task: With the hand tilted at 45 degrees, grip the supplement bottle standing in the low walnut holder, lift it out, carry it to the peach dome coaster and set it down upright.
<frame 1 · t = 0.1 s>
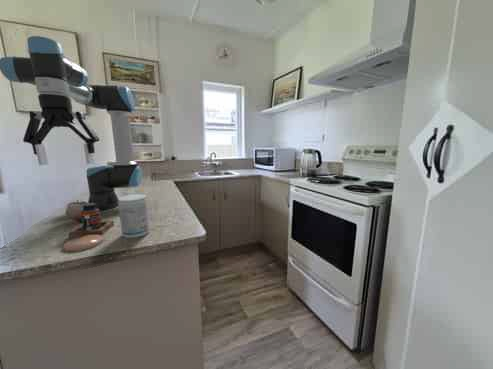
hand: (67, 164, 68), 28 cm above the counter, tool pointing down, fingers open, 13 cm apart
supplement tub: (136, 234, 81), on the counter
peach dome coaster: (84, 243, 73), on the counter
decorative fruit: (81, 221, 96), on the counter
supplement bottle: (93, 231, 84), resting in holder
holder: (93, 231, 84), on the counter
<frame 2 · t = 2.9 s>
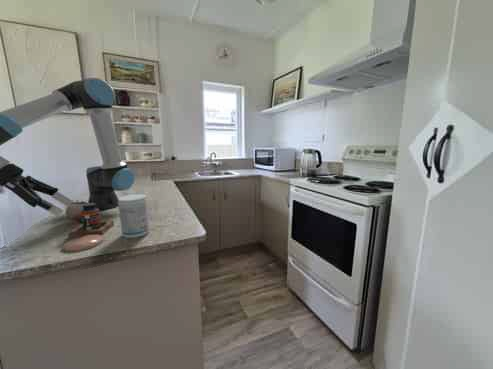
hand: (66, 208, 78), 11 cm above the counter, tool tilted 45°, fingers open, 13 cm apart
nothing on the counter moved.
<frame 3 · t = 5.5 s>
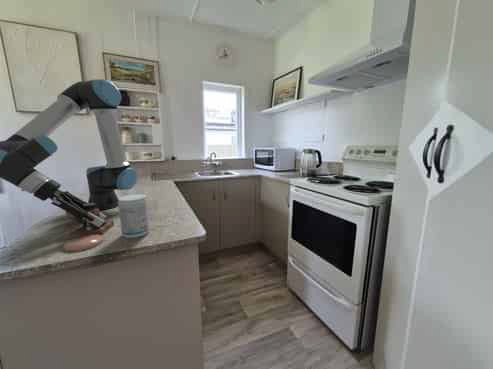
hand: (102, 221, 85), 3 cm above the counter, tool tilted 45°, fingers closed on supplement bottle, 6 cm apart
supplement bottle: (93, 231, 84), resting in holder, touching gripper
everything else where it was.
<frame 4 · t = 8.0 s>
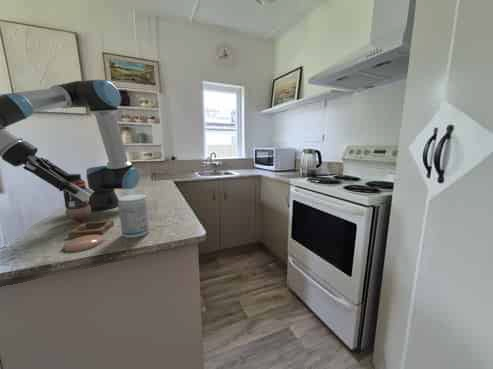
hand: (89, 196, 71), 17 cm above the counter, tool tilted 45°, fingers closed on supplement bottle, 6 cm apart
supplement bottle: (77, 208, 70), point 13 cm above the counter, touching gripper
everything else where it was.
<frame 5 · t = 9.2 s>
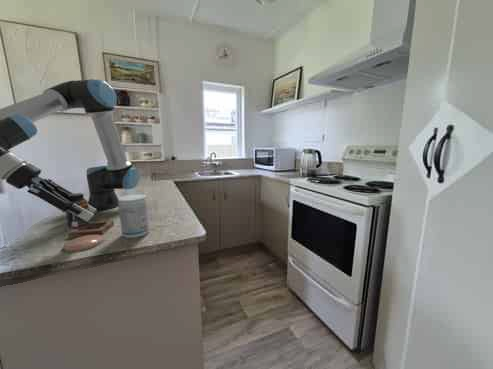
hand: (92, 215, 72), 10 cm above the counter, tool tilted 45°, fingers closed on supplement bottle, 6 cm apart
supplement bottle: (80, 227, 71), point 6 cm above the counter, touching gripper
everything else where it was.
when the fingers open (6 cm above the counter, at t = 10.3 s): supplement bottle drops 1 cm, resting on peach dome coaster.
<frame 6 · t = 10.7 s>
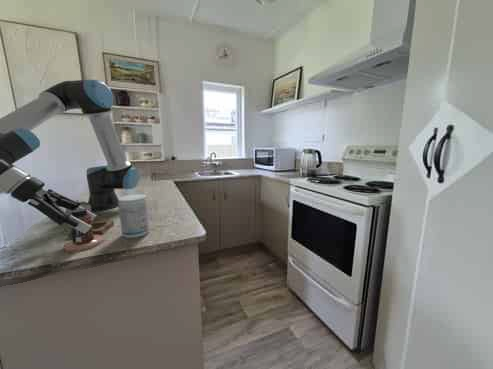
hand: (91, 224, 73), 7 cm above the counter, tool tilted 45°, fingers open, 11 cm apart
supplement bottle: (84, 241, 72), point 1 cm above the counter, touching peach dome coaster
everything else where it was.
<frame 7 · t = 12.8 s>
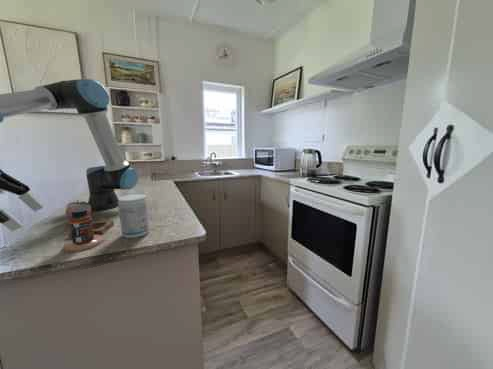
hand: (30, 218, 65), 12 cm above the counter, tool tilted 30°, fingers open, 13 cm apart
nothing on the counter moved.
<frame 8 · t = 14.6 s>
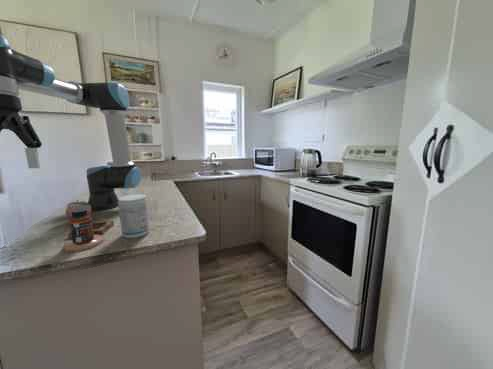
hand: (16, 170, 62), 27 cm above the counter, tool pointing down, fingers open, 13 cm apart
nothing on the counter moved.
at the end: supplement bottle 0.1 cm from the peach dome coaster (horizontally); supplement bottle tilted 0°; supplement bottle point 0.8 cm above the counter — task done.
